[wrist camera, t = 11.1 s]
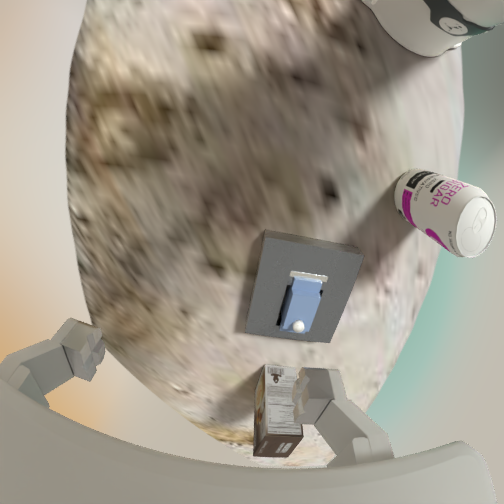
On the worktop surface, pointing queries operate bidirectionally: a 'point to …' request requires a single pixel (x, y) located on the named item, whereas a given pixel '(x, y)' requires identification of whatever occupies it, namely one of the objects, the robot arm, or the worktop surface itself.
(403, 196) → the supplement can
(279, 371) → the coffee box
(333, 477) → the robot arm
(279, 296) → the plate
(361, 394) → the worktop surface
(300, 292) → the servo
